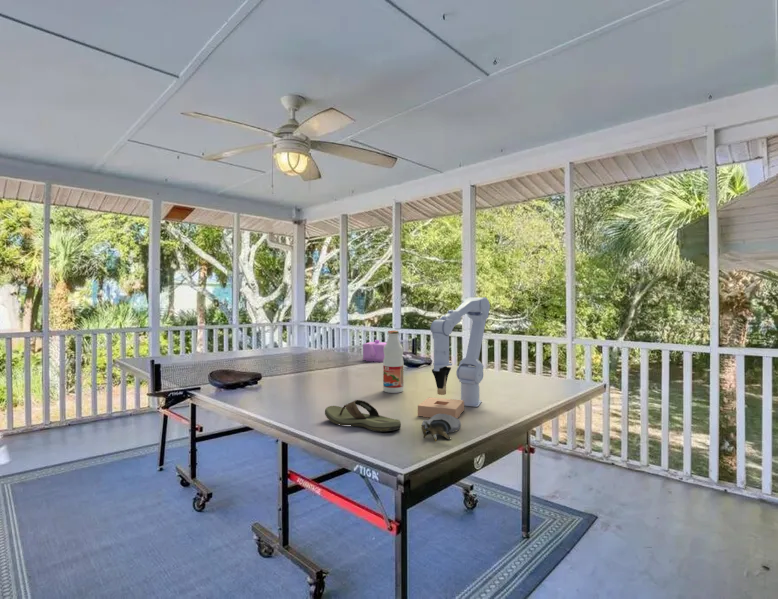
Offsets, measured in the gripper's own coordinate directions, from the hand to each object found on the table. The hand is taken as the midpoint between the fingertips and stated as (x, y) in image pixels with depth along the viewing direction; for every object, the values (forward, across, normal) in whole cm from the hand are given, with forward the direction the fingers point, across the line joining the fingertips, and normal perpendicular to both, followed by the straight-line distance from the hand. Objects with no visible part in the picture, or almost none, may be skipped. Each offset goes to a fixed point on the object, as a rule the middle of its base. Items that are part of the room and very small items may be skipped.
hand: (441, 387), depth 165 cm
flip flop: (+10, -24, +22) cm, 34 cm away
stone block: (+10, -19, -6) cm, 22 cm away
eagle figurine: (+10, -29, -6) cm, 31 cm away
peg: (+2, 0, 0) cm, 3 cm away
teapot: (+10, +113, +77) cm, 137 cm away
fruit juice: (+10, +29, +31) cm, 44 cm away
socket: (+10, 0, 0) cm, 10 cm away
